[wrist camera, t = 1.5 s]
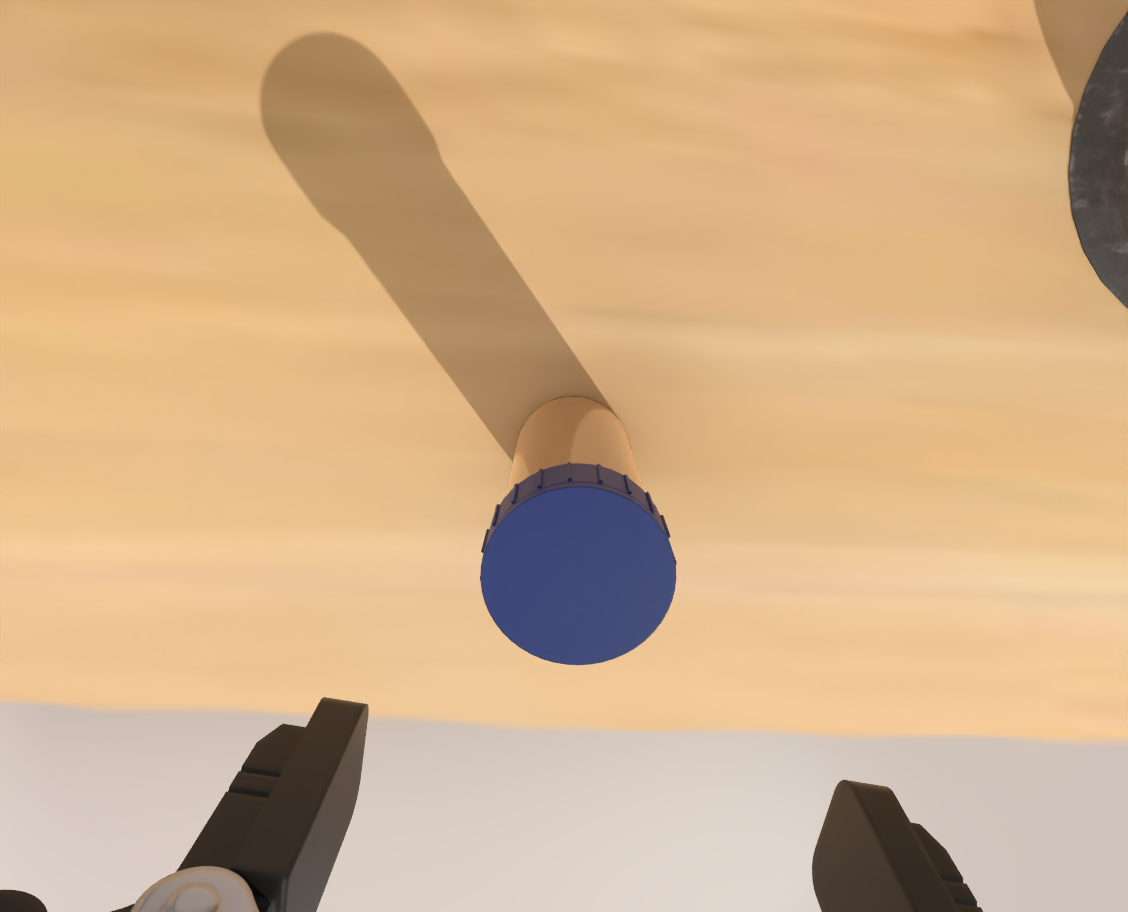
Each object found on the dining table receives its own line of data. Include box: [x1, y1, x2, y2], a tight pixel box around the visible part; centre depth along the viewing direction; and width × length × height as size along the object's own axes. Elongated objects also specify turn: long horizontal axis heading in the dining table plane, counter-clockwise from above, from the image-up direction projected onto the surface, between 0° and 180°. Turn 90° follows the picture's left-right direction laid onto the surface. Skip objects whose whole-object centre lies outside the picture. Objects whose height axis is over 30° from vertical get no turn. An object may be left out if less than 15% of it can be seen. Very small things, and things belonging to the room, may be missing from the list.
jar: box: [505, 397, 644, 497], centre depth 29 cm, size 5×5×13 cm
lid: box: [480, 462, 676, 665], centre depth 24 cm, size 6×6×2 cm
